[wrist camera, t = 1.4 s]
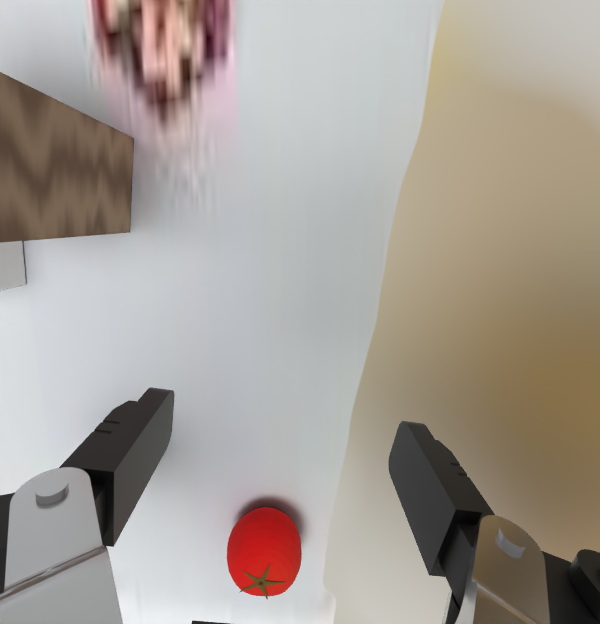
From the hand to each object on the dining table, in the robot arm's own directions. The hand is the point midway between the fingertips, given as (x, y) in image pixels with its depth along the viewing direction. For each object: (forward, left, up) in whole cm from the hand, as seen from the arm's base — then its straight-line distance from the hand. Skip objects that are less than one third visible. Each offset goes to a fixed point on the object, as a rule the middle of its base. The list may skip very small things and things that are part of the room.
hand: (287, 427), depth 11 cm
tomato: (-49, -4, -36) cm, 61 cm away
